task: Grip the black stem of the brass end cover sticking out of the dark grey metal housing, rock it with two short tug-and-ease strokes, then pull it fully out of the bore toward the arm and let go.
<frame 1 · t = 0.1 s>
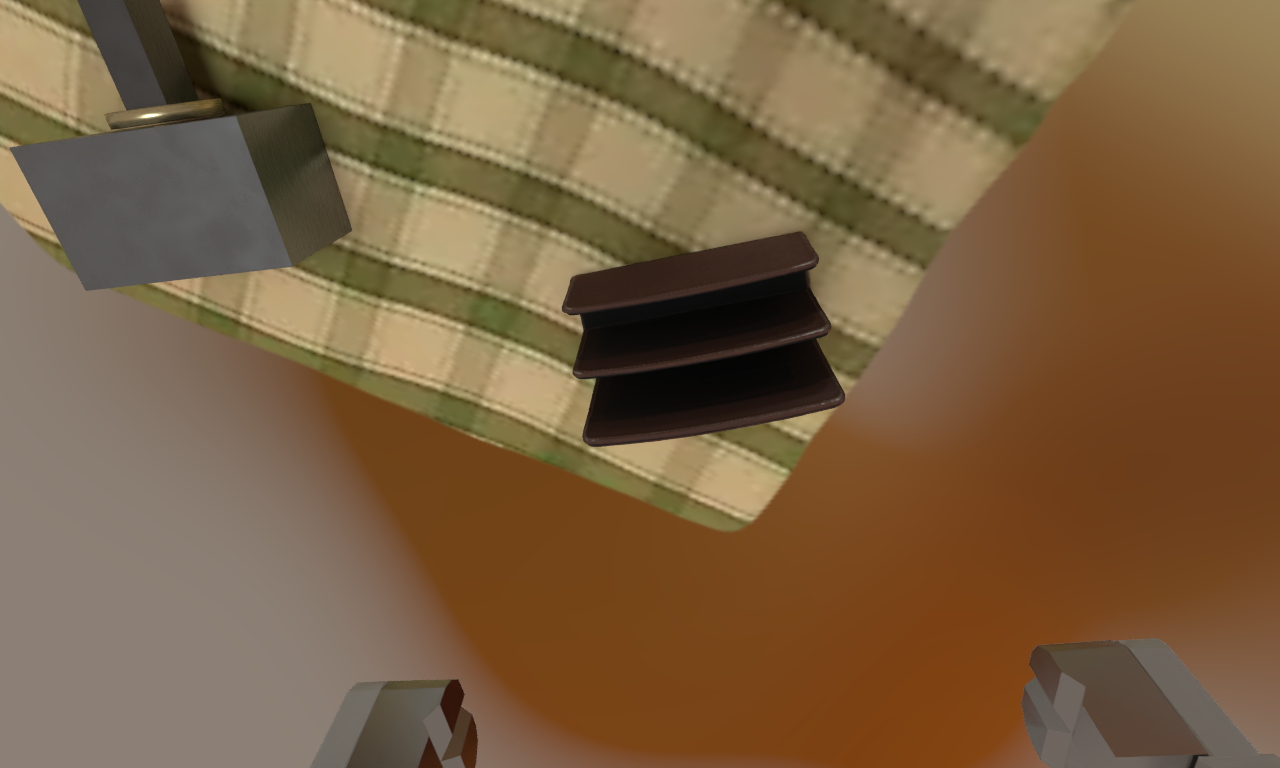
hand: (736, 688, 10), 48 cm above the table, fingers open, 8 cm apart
end cover: (168, 114, 47), point 5 cm above the table, slide at 0.0 cm
letter holder: (694, 306, 58), on the table
housing: (239, 181, 54), on the table
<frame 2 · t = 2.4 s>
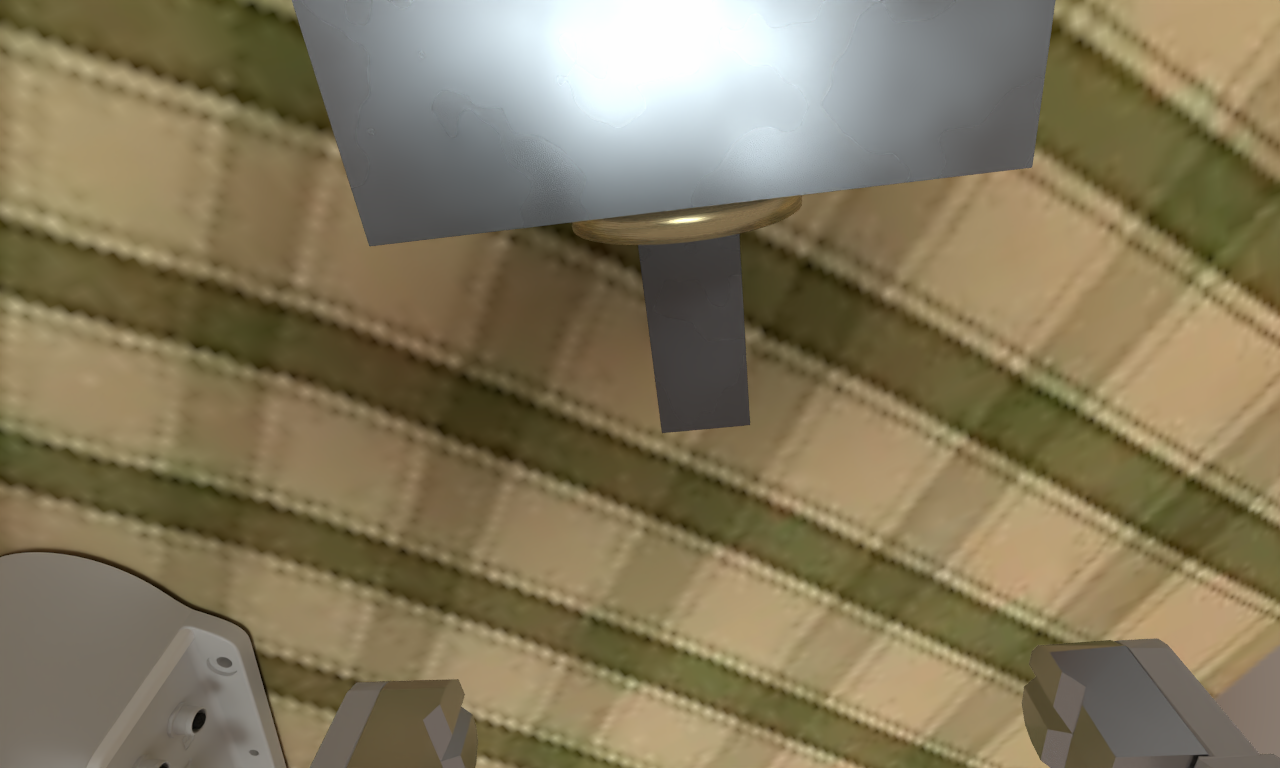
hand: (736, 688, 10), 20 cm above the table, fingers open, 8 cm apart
end cover: (683, 192, 21), point 5 cm above the table, slide at 0.0 cm
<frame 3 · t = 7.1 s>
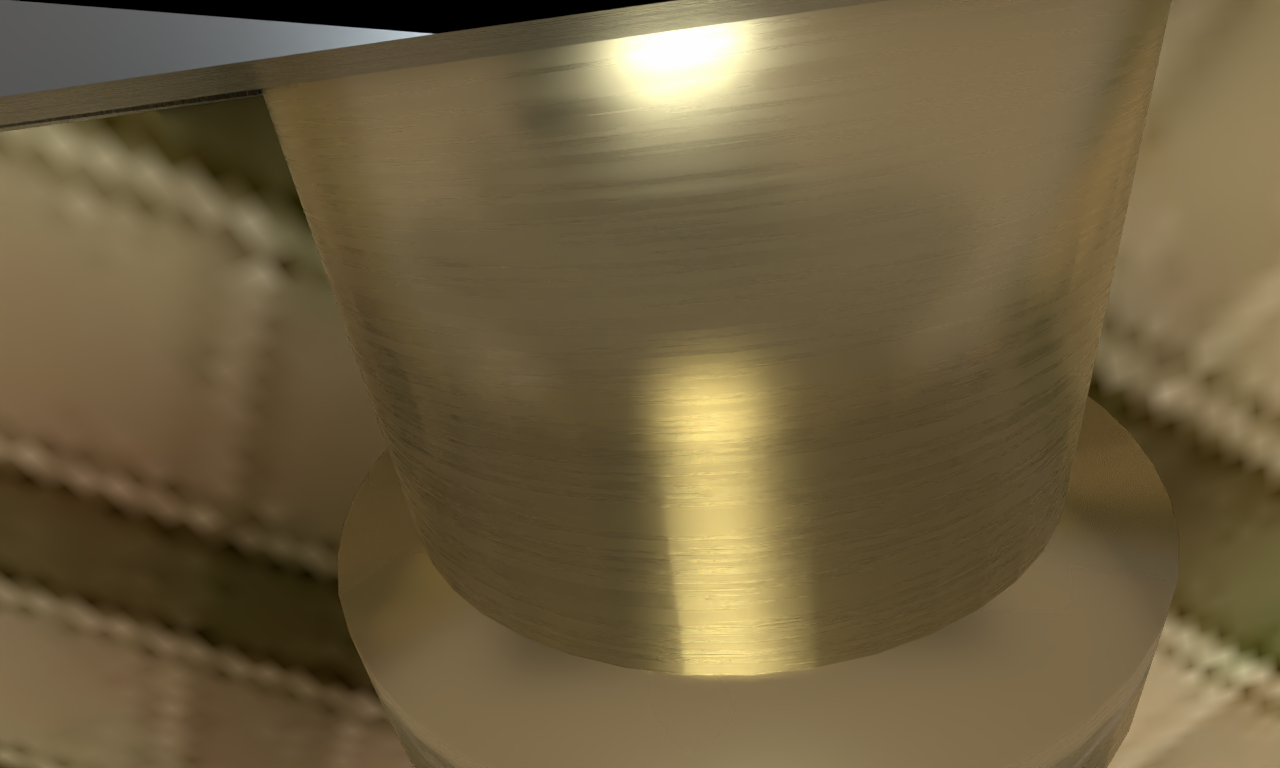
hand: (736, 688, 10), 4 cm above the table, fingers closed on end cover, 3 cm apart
end cover: (721, 472, 7), point 5 cm above the table, slide at 3.4 cm, touching gripper
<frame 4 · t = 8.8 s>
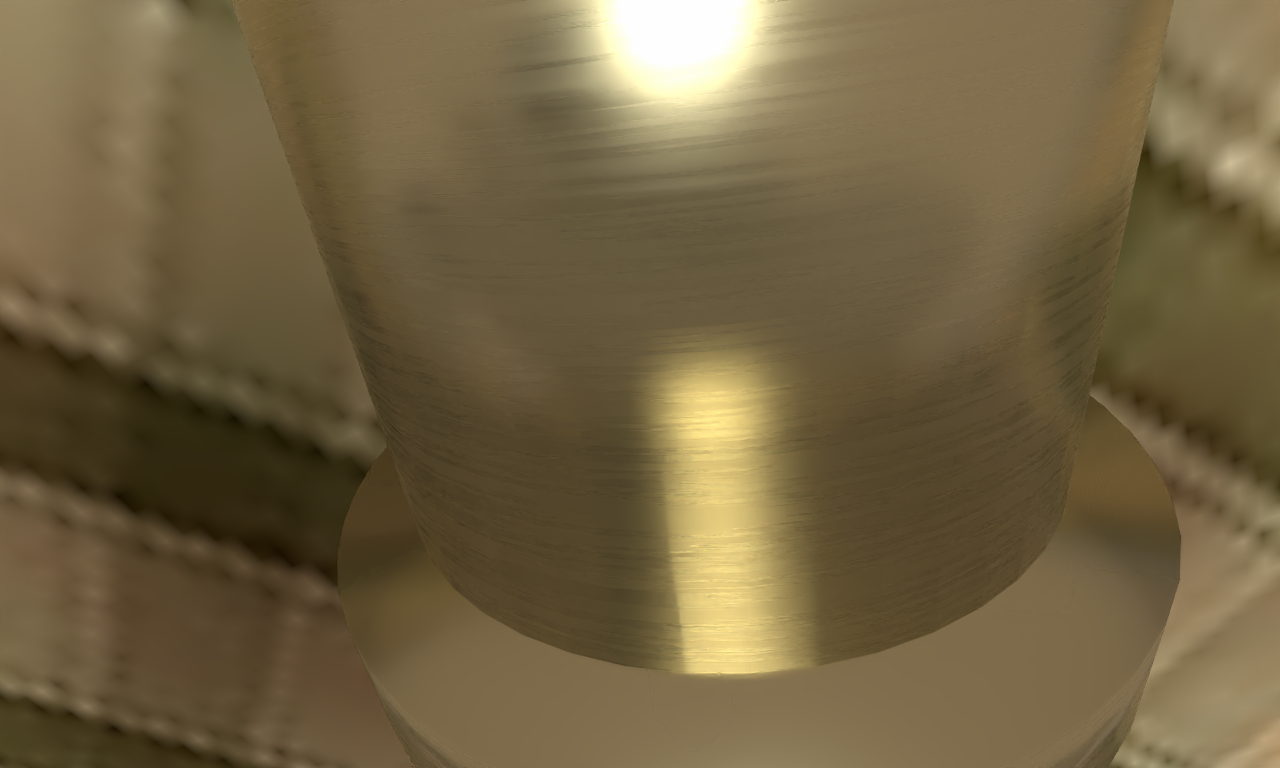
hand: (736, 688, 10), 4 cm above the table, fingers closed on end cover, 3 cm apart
end cover: (721, 471, 7), point 5 cm above the table, slide at 7.3 cm, touching gripper
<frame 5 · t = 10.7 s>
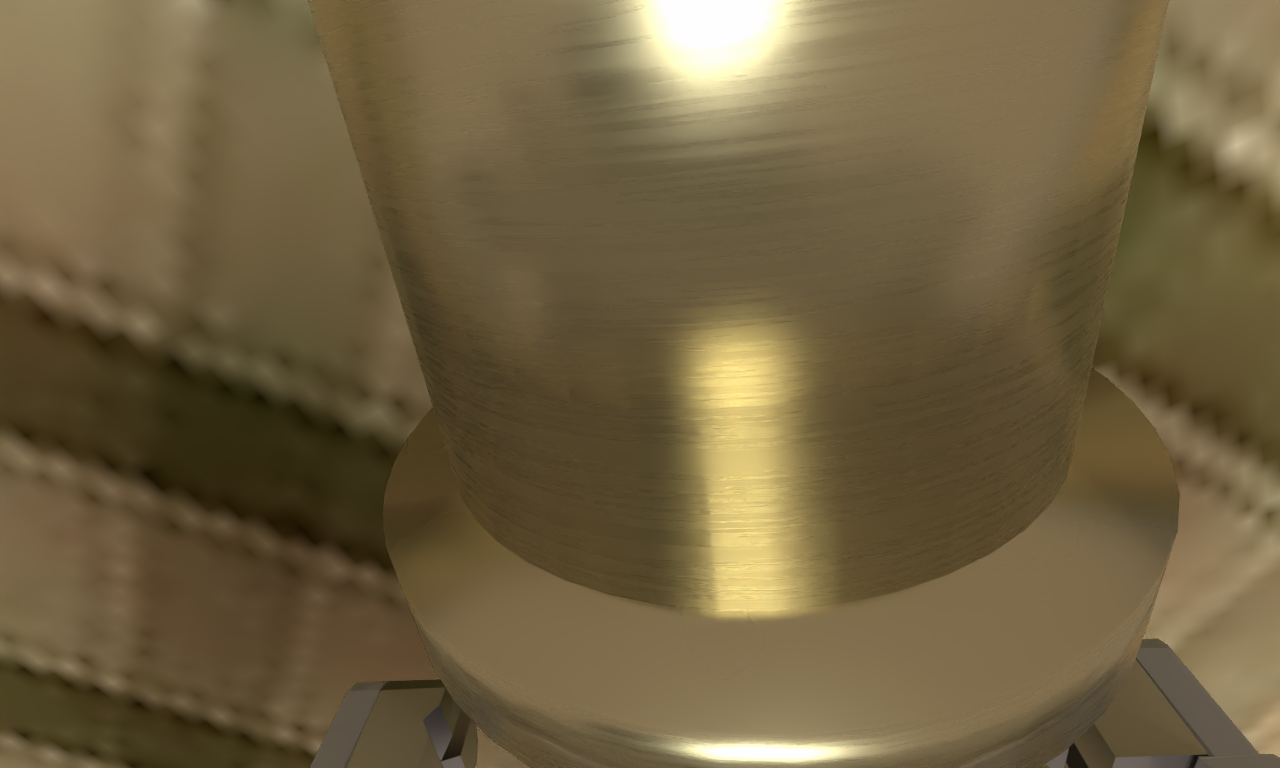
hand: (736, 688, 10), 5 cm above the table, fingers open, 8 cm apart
end cover: (741, 442, 7), point 5 cm above the table, slide at 7.4 cm
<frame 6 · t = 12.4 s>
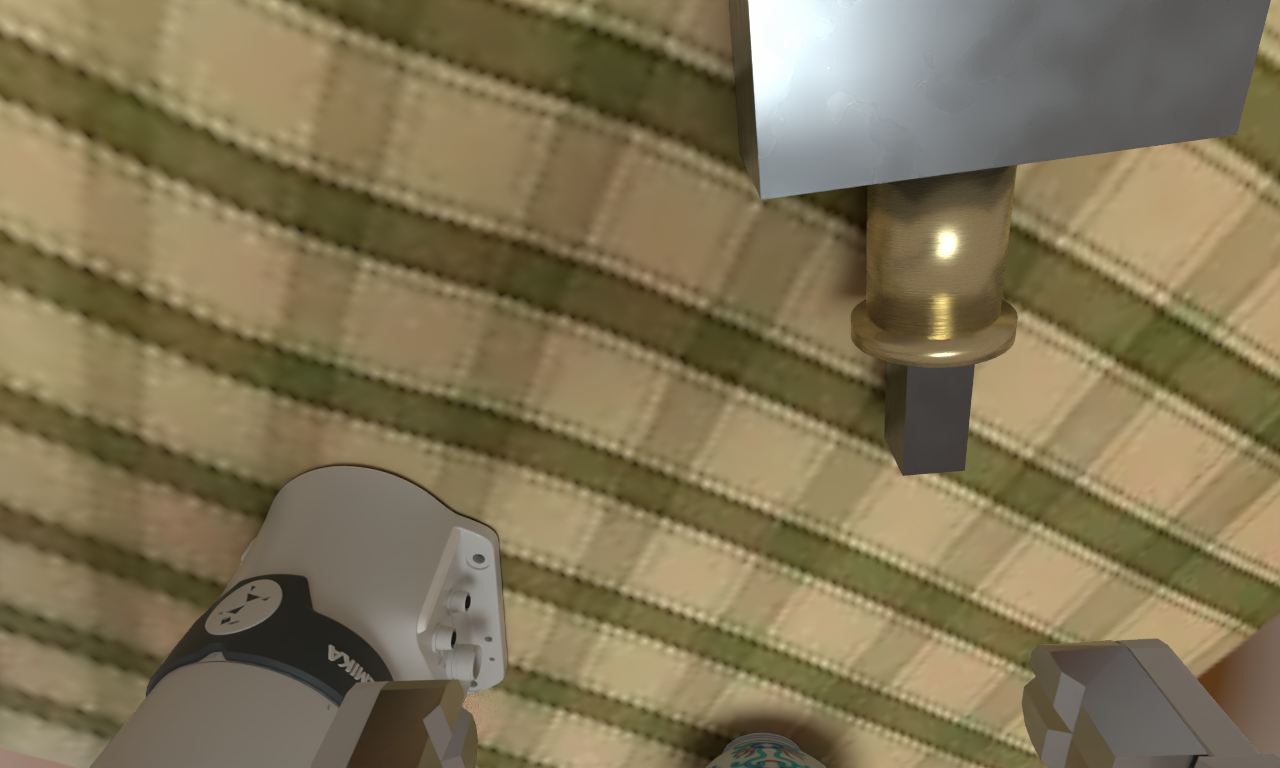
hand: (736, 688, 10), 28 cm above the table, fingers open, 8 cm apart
end cover: (930, 321, 31), point 5 cm above the table, slide at 7.4 cm
housing: (909, 14, 30), on the table
chinaware: (761, 754, 56), on the table
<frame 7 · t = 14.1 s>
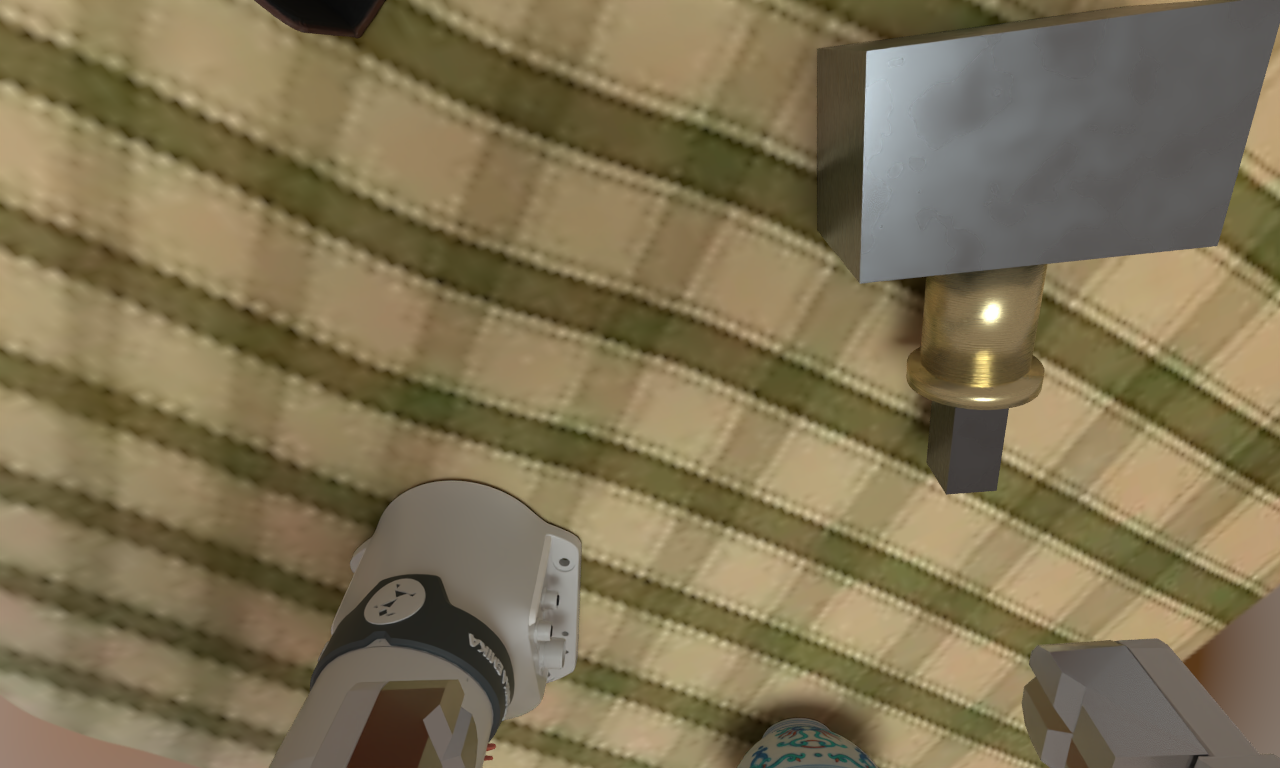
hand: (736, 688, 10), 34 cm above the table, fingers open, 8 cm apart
end cover: (972, 370, 39), point 5 cm above the table, slide at 7.4 cm
housing: (960, 127, 37), on the table
chinaware: (796, 738, 63), on the table
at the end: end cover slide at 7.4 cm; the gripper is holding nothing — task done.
